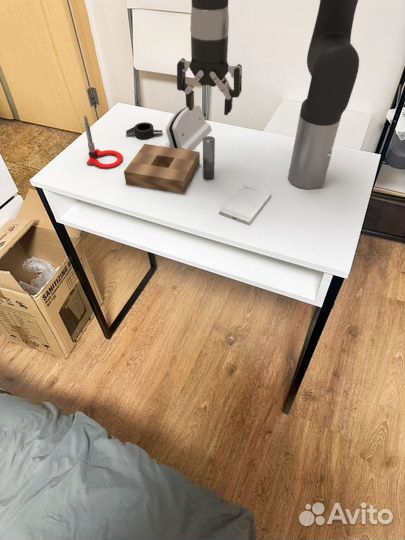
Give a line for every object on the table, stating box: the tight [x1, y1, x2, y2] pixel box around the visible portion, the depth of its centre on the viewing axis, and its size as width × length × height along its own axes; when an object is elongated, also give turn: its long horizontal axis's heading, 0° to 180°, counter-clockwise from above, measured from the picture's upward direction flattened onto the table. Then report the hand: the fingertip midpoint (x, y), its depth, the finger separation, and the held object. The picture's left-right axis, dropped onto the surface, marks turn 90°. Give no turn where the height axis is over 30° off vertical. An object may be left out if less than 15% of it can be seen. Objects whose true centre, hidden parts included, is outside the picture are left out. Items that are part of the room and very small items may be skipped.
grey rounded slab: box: [165, 105, 213, 151], centre depth 111 cm, size 17×5×10 cm, turn 153°
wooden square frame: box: [123, 143, 201, 195], centre depth 101 cm, size 16×14×4 cm
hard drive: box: [218, 184, 272, 226], centre depth 93 cm, size 2×8×12 cm
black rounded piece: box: [125, 121, 163, 141], centre depth 115 cm, size 8×10×3 cm
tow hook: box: [83, 115, 124, 170], centre depth 102 cm, size 8×13×9 cm
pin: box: [202, 135, 216, 182], centre depth 97 cm, size 3×3×11 cm
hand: (208, 111), depth 88 cm, fingers open, 8 cm apart
